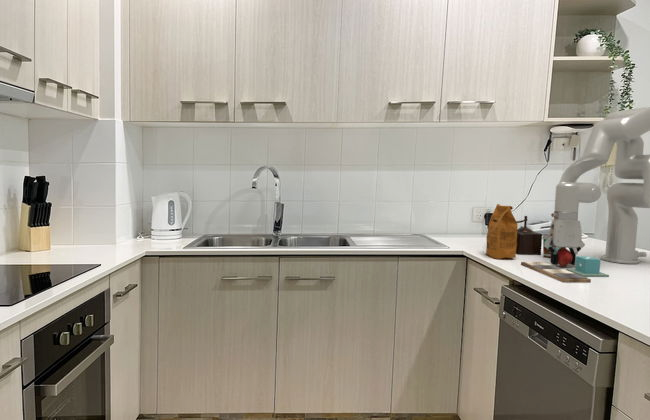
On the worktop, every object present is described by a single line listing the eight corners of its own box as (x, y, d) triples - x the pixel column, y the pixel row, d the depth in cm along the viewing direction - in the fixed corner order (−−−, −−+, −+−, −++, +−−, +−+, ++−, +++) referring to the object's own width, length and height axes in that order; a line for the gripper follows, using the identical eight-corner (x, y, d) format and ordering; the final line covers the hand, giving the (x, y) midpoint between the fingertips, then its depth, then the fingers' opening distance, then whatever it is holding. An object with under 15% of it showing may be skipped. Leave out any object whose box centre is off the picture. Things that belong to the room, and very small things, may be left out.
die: (589, 270, 138) (590, 256, 138) (599, 273, 133) (600, 259, 133) (575, 270, 138) (576, 256, 138) (584, 273, 133) (585, 259, 133)
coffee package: (505, 254, 169) (508, 203, 168) (518, 260, 157) (521, 205, 155) (482, 253, 170) (484, 203, 168) (494, 259, 157) (496, 205, 155)
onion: (550, 265, 149) (551, 244, 148) (564, 265, 149) (565, 244, 148) (560, 268, 143) (561, 247, 142) (575, 268, 143) (576, 247, 143)
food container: (555, 260, 158) (557, 235, 157) (541, 257, 163) (542, 233, 162) (573, 257, 163) (575, 234, 163) (559, 255, 169) (560, 232, 168)
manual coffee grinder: (529, 250, 179) (531, 211, 178) (541, 255, 168) (544, 213, 166) (495, 249, 180) (497, 211, 178) (505, 254, 169) (507, 213, 167)
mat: (589, 270, 141) (589, 268, 141) (608, 276, 132) (609, 275, 132) (565, 270, 140) (565, 268, 140) (583, 276, 131) (583, 275, 131)
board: (543, 264, 149) (544, 261, 149) (590, 282, 124) (591, 278, 124) (520, 264, 149) (521, 261, 149) (563, 282, 124) (563, 278, 124)
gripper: (549, 217, 140) (546, 266, 142) (595, 217, 141) (592, 266, 143) (537, 215, 148) (534, 262, 149) (581, 215, 148) (578, 262, 150)
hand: (562, 263), depth 146 cm, fingers closed on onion, 5 cm apart
